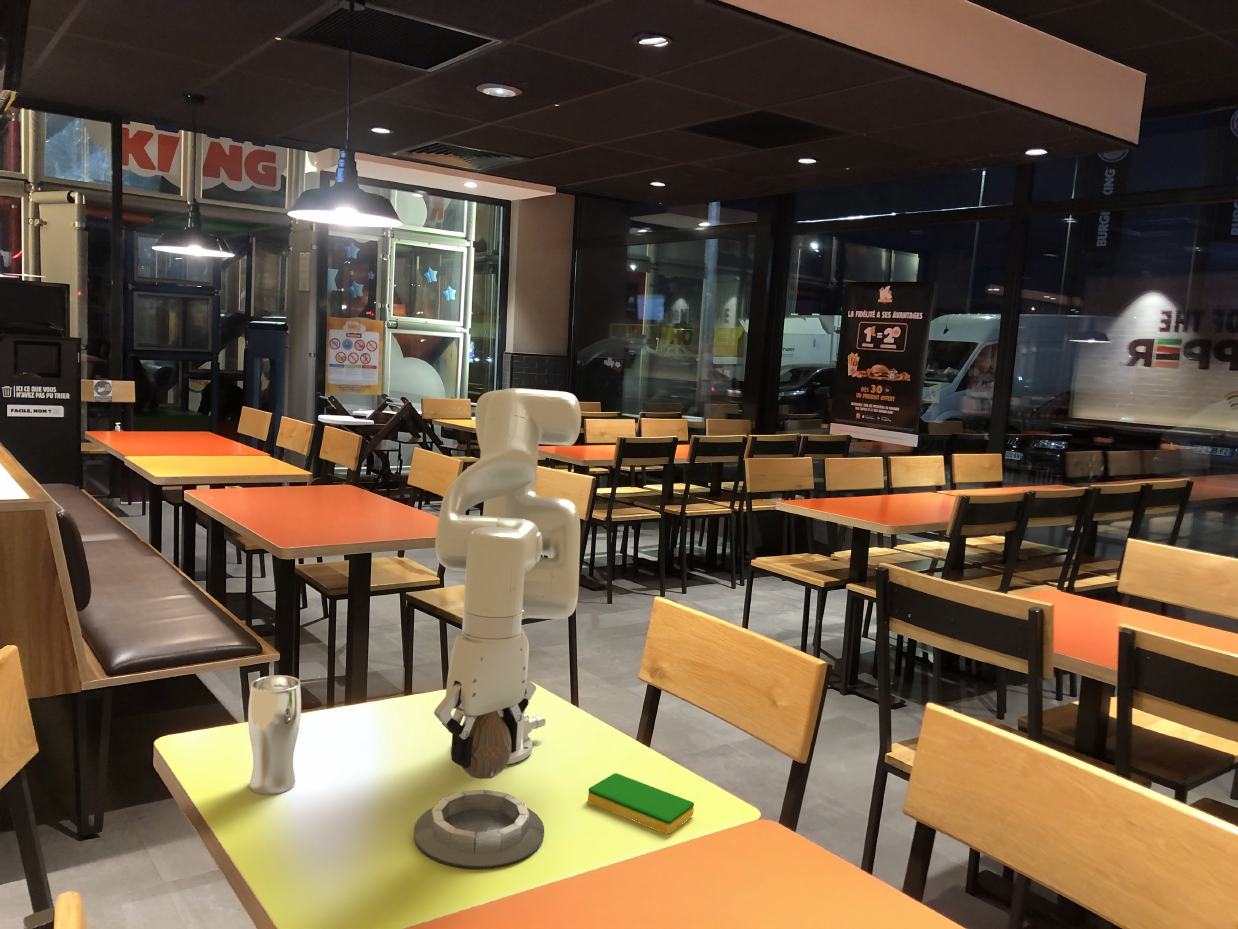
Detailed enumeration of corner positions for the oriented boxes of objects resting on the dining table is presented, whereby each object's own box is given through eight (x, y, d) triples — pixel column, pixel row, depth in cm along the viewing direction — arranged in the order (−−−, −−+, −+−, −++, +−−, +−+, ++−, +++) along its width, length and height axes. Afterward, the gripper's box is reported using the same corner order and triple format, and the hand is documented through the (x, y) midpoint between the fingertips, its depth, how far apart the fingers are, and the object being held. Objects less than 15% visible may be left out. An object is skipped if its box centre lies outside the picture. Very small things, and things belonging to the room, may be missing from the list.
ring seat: (488, 791, 134) (489, 771, 134) (570, 838, 123) (571, 816, 123) (387, 829, 122) (388, 807, 121) (468, 885, 110) (470, 862, 110)
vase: (486, 789, 116) (490, 722, 115) (445, 773, 120) (448, 708, 119) (520, 771, 122) (524, 707, 121) (480, 756, 126) (483, 694, 125)
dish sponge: (614, 787, 139) (615, 771, 139) (694, 818, 132) (695, 802, 131) (586, 804, 133) (587, 788, 133) (667, 838, 126) (669, 821, 125)
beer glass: (281, 800, 127) (284, 695, 125) (235, 791, 129) (238, 688, 127) (307, 778, 134) (311, 678, 132) (264, 770, 135) (267, 671, 134)
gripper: (523, 607, 128) (515, 731, 130) (418, 627, 115) (411, 764, 117) (560, 620, 123) (552, 749, 125) (455, 642, 110) (447, 786, 112)
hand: (484, 755), depth 121 cm, fingers closed on vase, 6 cm apart
